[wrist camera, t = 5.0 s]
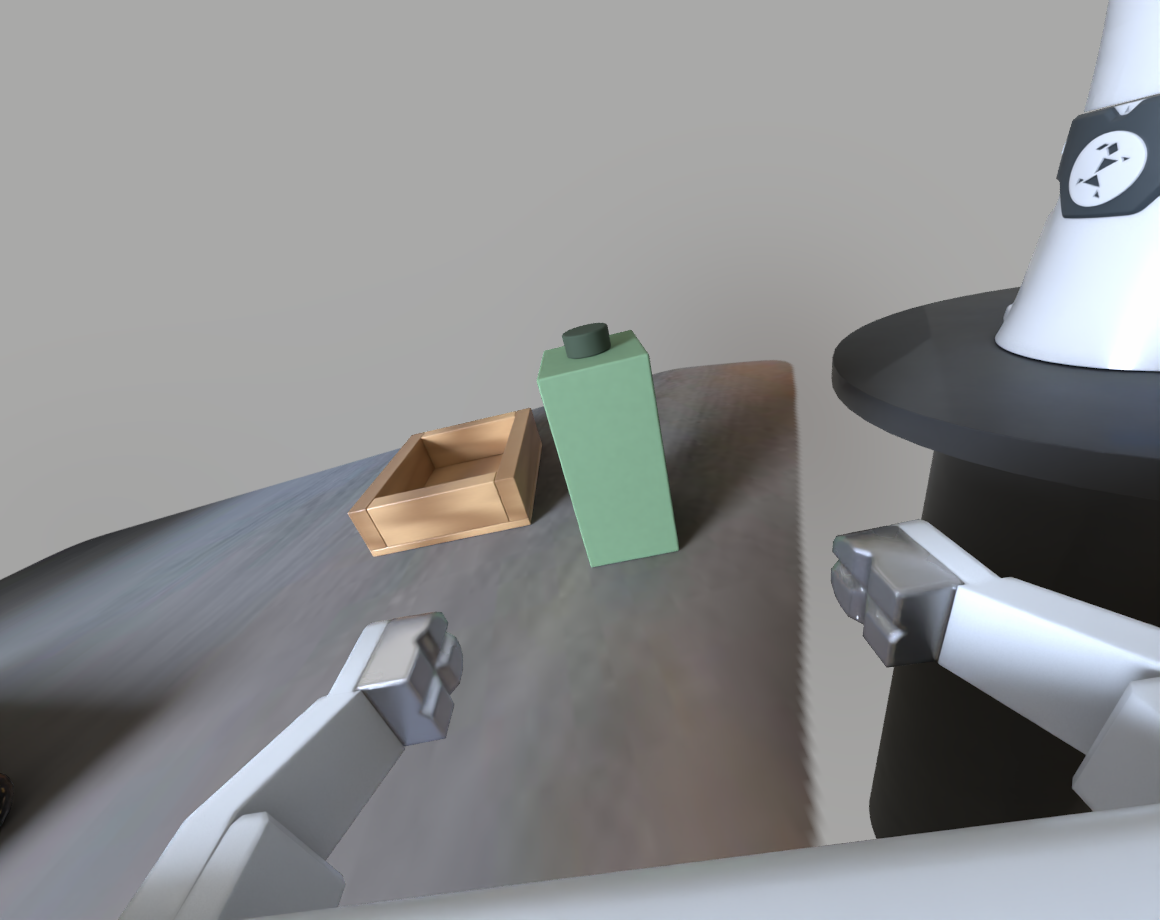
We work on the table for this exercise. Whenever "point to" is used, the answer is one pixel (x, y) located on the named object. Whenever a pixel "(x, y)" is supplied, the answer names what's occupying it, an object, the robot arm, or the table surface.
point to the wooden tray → (453, 485)
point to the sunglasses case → (5, 796)
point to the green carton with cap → (609, 443)
